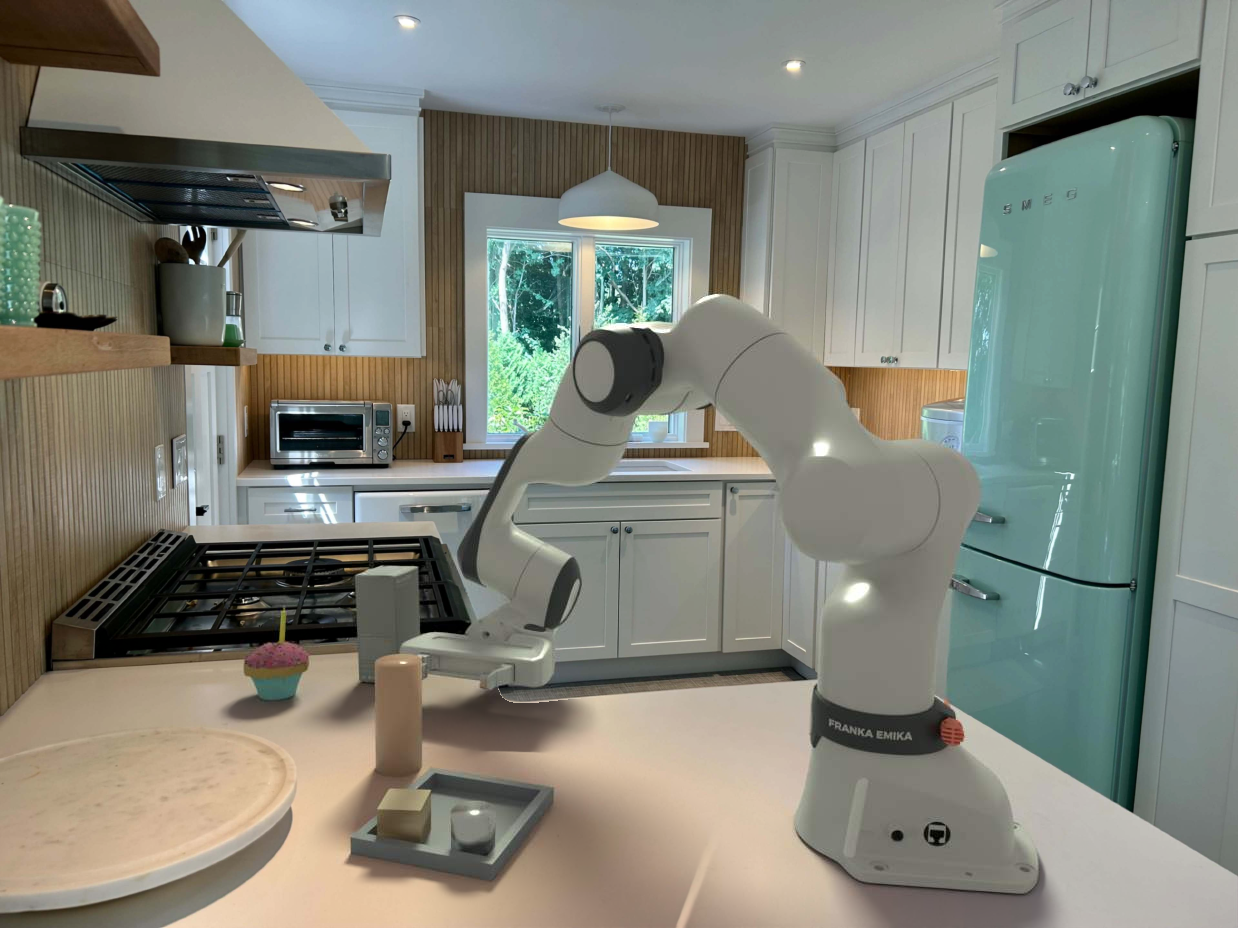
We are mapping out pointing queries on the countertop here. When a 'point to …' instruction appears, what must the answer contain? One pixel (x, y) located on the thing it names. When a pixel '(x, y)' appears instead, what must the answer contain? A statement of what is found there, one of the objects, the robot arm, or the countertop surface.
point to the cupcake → (277, 666)
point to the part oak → (405, 815)
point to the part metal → (473, 827)
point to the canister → (398, 714)
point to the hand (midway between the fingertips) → (449, 678)
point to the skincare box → (385, 613)
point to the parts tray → (513, 823)
